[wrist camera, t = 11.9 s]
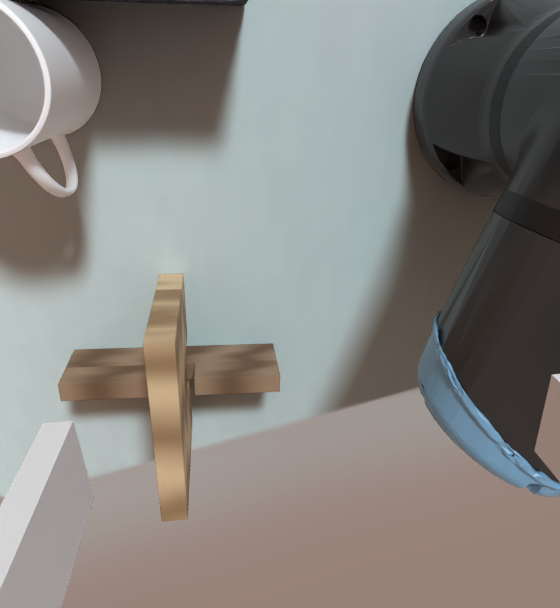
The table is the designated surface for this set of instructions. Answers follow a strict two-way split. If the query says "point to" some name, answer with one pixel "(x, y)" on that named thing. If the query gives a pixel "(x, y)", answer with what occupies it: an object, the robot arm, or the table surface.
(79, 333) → the table surface
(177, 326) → the cross plate
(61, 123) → the mug
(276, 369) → the standing plate
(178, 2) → the vhs cassette tape
